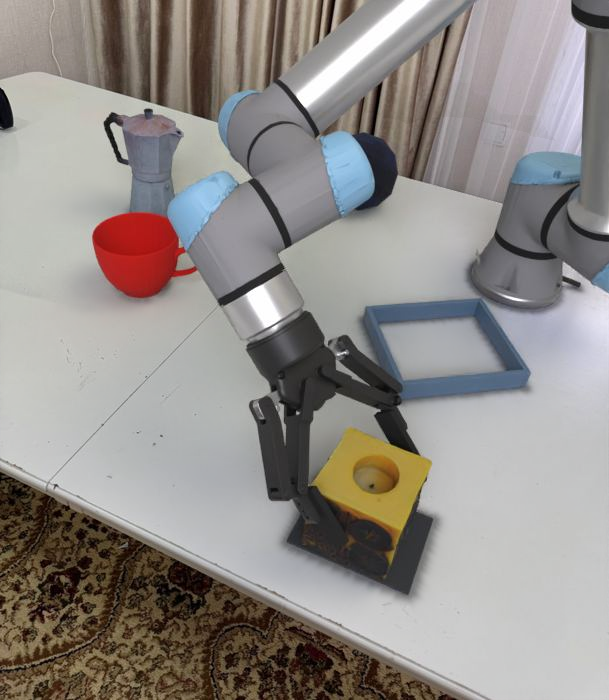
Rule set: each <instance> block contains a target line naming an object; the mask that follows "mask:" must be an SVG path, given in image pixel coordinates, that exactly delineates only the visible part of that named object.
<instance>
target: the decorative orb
mask: <svg viewBox="0 0 609 700" xmlns="http://www.w3.org/2000/svg"><path fill="white" fill-rule="evenodd" d="M352 136H353V137H354V138H355V140H356V141H357V142H358V143H359V145H360V146H361V148H362V149H363V151H364V153H365V155H366V156H367V159H368V161H369V163H370V166H371V168H372V172H373V176H374V181H375V187H374V192H373V194H372V196H371V197H370V198H369V199H368V200H367V201H365V202H364V203H362V204H361V205H359V206H358V207H356V208H355V209H353V210H354V211H362V210H366V209H371V208H374V207H375V208H376V207H378V206H379V205H381V204H382V203H383V202H384V201H386V200H387V199H388V198H389V197H390V196H391V195H392V194H393V191H394V188H395V185H396V182H397V179H398V176H399V171H398V165H397V158H396V154H395V152H394V150H392V148H391V147H390V146H389V144H388V143H387V142H386V140H385V139H384V138H381V137H379V136H376V135H374V134H373V135H372V134H370V133H367V132H365V131H363V132H359V133H355V134H352Z"/></svg>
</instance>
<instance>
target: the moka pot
mask: <svg viewBox="0 0 609 700" xmlns="http://www.w3.org/2000/svg"><path fill="white" fill-rule="evenodd" d="M153 112H154V109H152V108H150V107H149V108H148V107H146V108H144V109H143V113H139V114H135V115H132V116H128V115H126V114H118V113H116V112H113V111H111V112H110V114H108V116H106V118H105V120H103V123H102V124H103V127H104V128H103V129H104V131H105V134H106V137H107V138H108V141H109V144H110V146H111V148H112V149H113V154H114V155H115V158H116V161H117V163H119V164H121V165H124V166H129V167H130V168H131V174H132V176H131V185H130V186H131V188H130V200H129V201H130V202H129V203H130V204H129V213H134V212H145V213H153V214H157V215H161V216H163V217H166V218H168V216H167V210H168V205H169V203H170V202H171V200H172V199H173V198H174V197H175V196H176V195H175V194H176V193H175V188H174V182H173V177H172V173H173V171H172V170H173V169H172V168H173V161H174V160H173V159H174V155H175V153H176V150H177V148H178V146H179V144H180V142H181V140H182V139H183V138H185V132H184V131H182V130H181V129H180V128H179V127H177V126H176V125H177V123H176V121H175V120H173V119H171V118H169V117H166V116H164V115H163V114H157V113H153ZM113 123H114V124H115V125H117V126H118V127H120V128H121V132H122V136H123V140H124V145H125V150H126V155H127V159H126V158H123V157H122V154H121V152H120V150H119V146H118V144H117V142H116V141H117V140H116V138H115V136H114V132H113V130H112V128H111V124H113Z"/></svg>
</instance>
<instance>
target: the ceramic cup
mask: <svg viewBox="0 0 609 700" xmlns="http://www.w3.org/2000/svg"><path fill="white" fill-rule="evenodd" d="M91 241H92V246H93V251H94V254H95V258H96V260H97V264H98V266H99V268H100V270H101V272H102V274H103V275H104V277H105V278H106V280H107V281H108V282H109V283H110V284H111V285H112V286H113V287H115V288H116V289H117V290H118V291H120V292H122V293H123V294H125V295H126V296H128V297H130V298H131V297H132V298H135V299H146V298H151V297H153V296H156V295H157V294H159V293H160V292H161V291H162V290H163V288H165V287H166V286H167V285H168V283H169V282H170V281H171V280H172V278H176V277H177V278H178V277H184V276H189V275H192V274H194V273H196V272H198V270H197V268H196V267H195V265H194V266H193V267H190V268H185V269H177V266H178V262H179V257H180V256H181V255H182V254H187V252H186V250H185V249H184V247H183V246H182V247H180V239H179V237H178V235H177V234H176V232H175V230H174V228H173V226H172V224H171V222H170V221H169V219H168V218H166V217H163V216H161V215H157V214H153V213H145V212H134V213H130V212H126V213H121V214H116V215H113V216H111V217H109V218H106V219H104V220H103V221H101V222H100V223H98V224H97V225H96V226H95V228H94V229H93V231H92V235H91Z"/></svg>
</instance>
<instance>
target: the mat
mask: <svg viewBox="0 0 609 700" xmlns="http://www.w3.org/2000/svg"><path fill="white" fill-rule="evenodd" d="M304 521H305V520H304V518H303V517H302V515H301V514H300V515H299V517H298V519H297V520H296V523H295V525H294V526H293V528H292V530H291V532H290V534H289V536H288V538H287V540H286V543H288V544H289V545H292V546H294V547H297V548H298V549H301V550H304V551H306V552H308V553H310V554H313V555H315V556H318V557H319V558H322V559H325V560H327V561H328V562H331V563H334V564H335V565H338V566H339V567H342V568H345V569H347V570H350V571H351V572H354V573H356V574H358V575H361V576H363V577H366V578H367V579H370V580H371V581H372V580H373V581H374V582H377V583H380V584H382V585H384V586H386V587H389V588H392V589H393V590H395V591H397V592H399V593H402V594H405V595H407V596H409V595H410V592H411V588H412V586H413V582H414V579H415V576H416V574H417V571H418V567H419V564H420V562H421V558H422V555H423V553H424V549H425V547H426V543H427V540H428V537H429V534H430V531H431V527H432V525H433V521H434V518H433V517H430V516H428V515H425V514H422V513H420V512H417V511H416V513H415V517H414V519H413V520H412V522H411V524H410V526H409V530H408V533H407V535H406V537H405V539H403V543H402V545H401V547H400V549H399V553H398V555H397V556H396V559H395V561H394V564H393V566H392V568H391V569H390V572H389V573H388V575H387V579H386V580H385V581H380V580H376V579H375V578H374V577H372V576H370V575H368V574H366V573H364V572H362V571H359V570H357V569H353V568H352V567H350V566H346V565H345V564H344V563H341V562H338V561H336V560H334V559H332V558H330V557H328V556H326V555H323V554H321V553H320V552H318V551H317V550H314V549H312V548H310V547H309V546H308V545H303V544H302V543H301V542H300V540H301V537H302V532H303V529H304V526H303V523H304Z"/></svg>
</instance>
